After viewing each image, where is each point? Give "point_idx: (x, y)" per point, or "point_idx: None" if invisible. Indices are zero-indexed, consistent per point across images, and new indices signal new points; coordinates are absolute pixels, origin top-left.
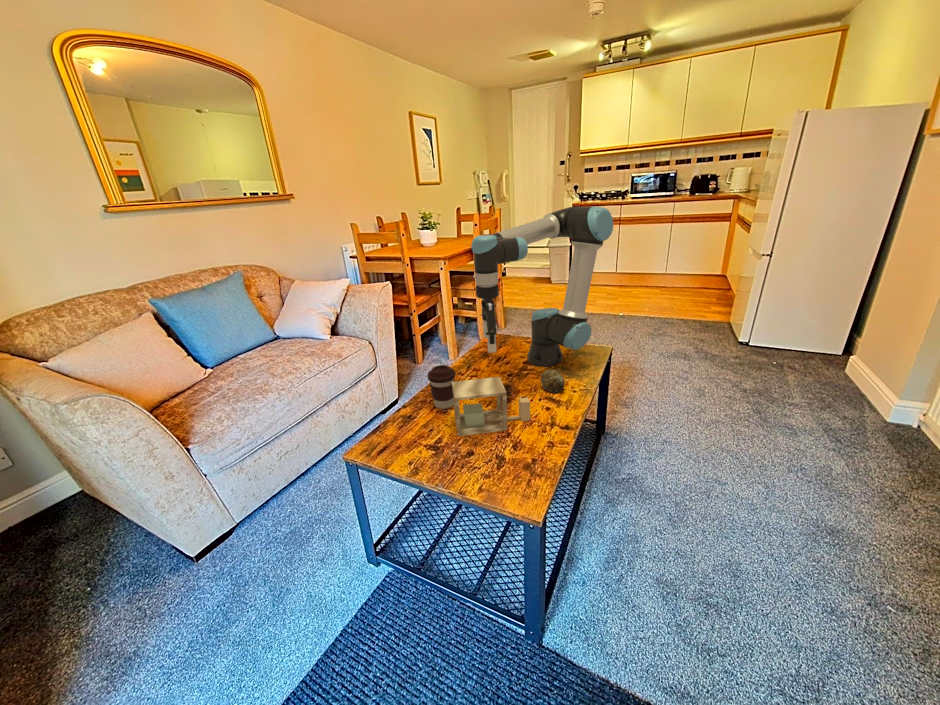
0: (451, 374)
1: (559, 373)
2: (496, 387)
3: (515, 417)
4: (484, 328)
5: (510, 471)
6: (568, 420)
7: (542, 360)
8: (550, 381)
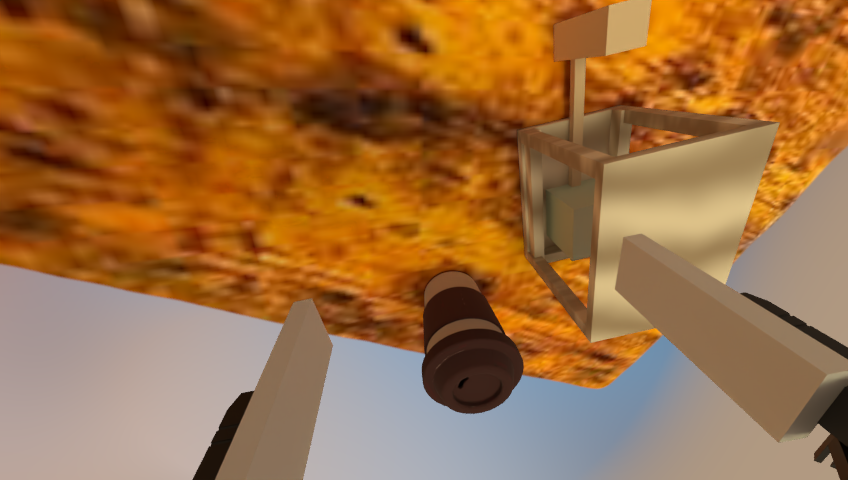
0: (491, 348)
1: None
2: (709, 173)
3: (583, 76)
4: (307, 422)
5: (782, 95)
6: None
7: None
8: None
